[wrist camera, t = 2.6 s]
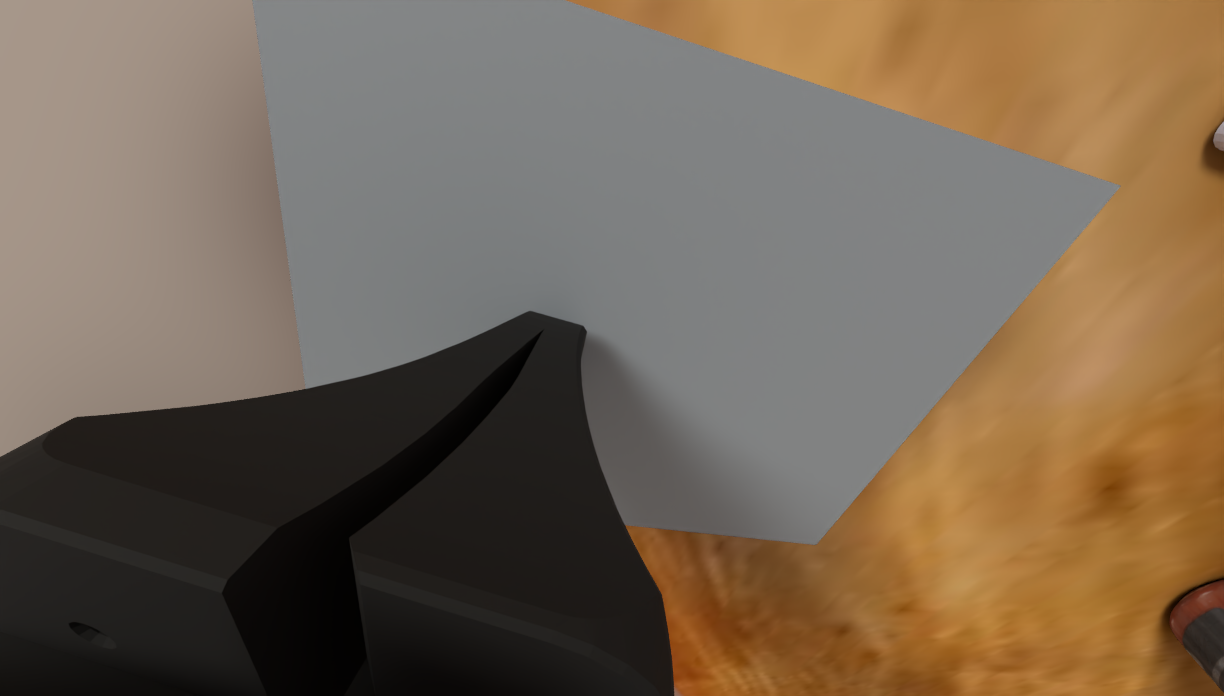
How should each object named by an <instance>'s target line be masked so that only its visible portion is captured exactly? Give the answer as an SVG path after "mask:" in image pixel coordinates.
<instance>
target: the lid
mask: <svg viewBox="0 0 1224 696" xmlns="http://www.w3.org/2000/svg"><path fill="white" fill-rule="evenodd" d="M252 1H253V8H254V15H255V23H256V29H257V37H258V44H259V51H260V59H261V66H262V74H263V81H264V88H265V95H266V103H267V110H268V117H269V124H270V132H271V138H272V146H273V153H274V161H275V168H276V176H277V183H278V190H279V197H280V205H281V212H282V219H283V227H284V234H285V241H286V248H287V256H288V263H289V270H290V278H291V285H292V292H293V299H294V306H295V314H296V321H297V328H298V336H299V343H300V350H301V358H302V364H303V372H304V380H305V386H306V389H307V388H312V387H316V386H321V385H325V384H330V383H334V382H339V381H343V380H348V379H352V378H357V377H361V376H365V375H368V374H372V373H375V372H379V371H382V370H386V369H389V368H392V367H396V366H399V365H402V364H405V363H408V362H411V361H414V360H417V359H420V358H423V357H426V356H428V355H431V354H433V353H436V352H438V351H441V350H443V349H446V348H448V347H451V346H453V345H456V344H458V343H461V342H463V341H466V340H468V339H470V338H472V337H475V336H477V335H479V334H481V333H483V332H485V331H488V330H490V329H492V328H494V327H496V326H498V325H500V324H502V323H505V322H507V321H509V320H511V319H513V318H515V317H517V316H519V315H521V314H523V313H525V312H528V311H533V312H537V313H540V314H544V315H547V316H551V317H555V318H558V319H562V320H565V321H569V322H572V323H576V324H579V325H583V326H584V327H585V329H586V331H587V335H586V339H585V344H584V348H583V353H582V357H581V374H582V388H583V396H584V403H585V409H586V414H587V419H588V424H589V428H590V432H591V436H592V440H593V444H594V447H595V450H596V454H597V457H598V460H599V463H600V466H601V469H602V472H603V474H604V477H605V479H606V482H607V484H608V487H609V489H610V492H611V494H612V497H613V499H614V502H615V505H616V507H617V509H618V512H619V514H620V516H621V518H622V520H623V522H624V524H625V525H629V526H639V527H649V528H658V529H668V530H677V531H687V532H697V533H706V534H716V535H725V536H735V537H744V538H754V539H764V540H773V541H783V542H792V543H802V544H811V545H817V543H818V542H819V541H820V540H821V539H822V537H823V536H824V535H825V534H826V533H827V532H828V530H829V529H830V528H831V527H832V526H833V525H834V523H835V522H836V521H837V520H838V519H839V517H840V516H841V515H842V514H843V513H844V512H845V510H846V509H847V508H848V507H849V506H850V504H851V503H852V502H853V501H854V500H855V499H856V497H857V496H858V495H859V494H860V493H861V492H862V490H863V489H864V488H865V487H866V486H867V484H868V483H869V482H870V481H871V480H872V479H873V477H874V476H875V475H876V474H877V473H878V472H879V470H880V469H881V468H882V467H883V466H884V464H885V463H886V462H887V461H888V460H889V459H890V457H891V456H892V455H893V454H894V453H895V451H896V450H897V449H898V448H899V447H900V446H901V444H902V443H903V442H904V441H905V440H906V439H907V437H908V436H909V435H910V434H911V433H912V431H913V430H914V429H915V428H916V427H917V426H918V424H919V423H920V422H921V421H922V420H923V419H924V417H925V416H926V415H927V414H928V413H929V411H930V410H931V409H932V408H933V407H934V406H935V404H936V403H937V402H938V401H939V400H940V398H941V397H942V396H943V395H944V394H945V393H946V391H947V390H948V389H949V388H950V387H951V386H952V384H953V383H954V382H955V381H956V380H957V378H958V377H959V376H960V375H961V374H962V373H963V371H964V370H965V369H966V368H967V367H968V366H969V364H970V363H971V362H972V361H973V360H974V358H975V357H976V356H977V355H978V354H979V353H980V351H981V350H982V349H983V348H984V347H985V345H986V344H987V343H988V342H989V341H990V340H991V338H992V337H993V336H994V335H995V334H996V333H997V331H998V330H999V329H1000V328H1001V327H1002V325H1003V324H1004V323H1005V322H1006V321H1007V320H1008V318H1009V317H1010V316H1011V315H1012V314H1013V313H1014V311H1015V310H1016V309H1017V308H1018V307H1019V305H1020V304H1021V303H1022V302H1023V301H1024V300H1025V298H1026V297H1027V296H1028V295H1029V294H1030V292H1031V291H1032V290H1033V289H1034V288H1035V287H1036V285H1037V284H1038V283H1039V282H1040V281H1041V280H1042V278H1043V277H1044V276H1045V275H1046V274H1047V272H1048V271H1049V270H1050V269H1051V268H1052V267H1053V265H1054V264H1055V263H1056V262H1057V261H1058V259H1059V258H1060V257H1061V256H1062V255H1063V254H1064V252H1065V251H1066V250H1067V249H1068V248H1069V247H1070V245H1071V244H1072V243H1073V242H1074V241H1075V239H1076V238H1077V237H1078V236H1079V235H1080V234H1081V232H1082V231H1083V230H1084V229H1085V228H1086V227H1087V225H1088V224H1089V223H1090V222H1091V221H1092V219H1093V218H1094V217H1095V216H1096V215H1097V214H1098V212H1099V211H1100V210H1101V209H1102V208H1103V206H1104V205H1105V204H1106V203H1107V202H1108V201H1109V199H1110V198H1111V197H1112V196H1113V195H1114V194H1115V192H1116V191H1117V190H1118V189H1119V188H1120V185H1117V184H1114V183H1111V182H1108V181H1105V180H1102V179H1099V178H1096V177H1093V176H1090V175H1087V174H1084V173H1081V172H1078V171H1075V170H1072V169H1069V168H1066V167H1063V166H1060V165H1057V164H1054V163H1051V162H1048V161H1045V160H1042V159H1039V158H1036V157H1033V156H1030V155H1027V154H1024V153H1021V152H1018V151H1015V150H1012V149H1009V148H1006V147H1003V146H1000V145H997V144H994V143H991V142H988V141H985V140H982V139H979V138H976V137H973V136H970V135H967V134H964V133H961V132H958V131H955V130H952V129H949V128H946V127H943V126H940V125H937V124H934V123H931V122H928V121H925V120H922V119H919V118H916V117H913V116H910V115H907V114H904V113H901V112H898V111H895V110H892V109H889V108H886V107H883V106H880V105H877V104H874V103H871V102H868V101H865V100H862V99H859V98H856V97H853V96H850V95H847V94H844V93H841V92H838V91H835V90H832V89H829V88H826V87H823V86H820V85H817V84H814V83H811V82H808V81H805V80H802V79H799V78H796V77H793V76H790V75H787V74H784V73H781V72H778V71H775V70H772V69H769V68H766V67H763V66H760V65H757V64H754V63H751V62H748V61H745V60H742V59H739V58H736V57H733V56H730V55H727V54H724V53H721V52H718V51H715V50H712V49H709V48H706V47H703V46H700V45H697V44H694V43H691V42H688V41H685V40H682V39H679V38H676V37H673V36H670V35H667V34H664V33H661V32H658V31H655V30H652V29H649V28H646V27H643V26H640V25H637V24H634V23H631V22H628V21H625V20H622V19H619V18H616V17H613V16H610V15H607V14H604V13H601V12H598V11H595V10H592V9H589V8H586V7H583V6H580V5H577V4H574V3H571V2H568V1H565V0H252Z"/></svg>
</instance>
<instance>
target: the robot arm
mask: <svg viewBox="0 0 1224 696" xmlns="http://www.w3.org/2000/svg"><path fill="white" fill-rule="evenodd" d="M1213 142H1214V145H1215V147H1216V148H1218V149H1219V150H1222V151H1224V122H1223V123H1222V124H1221V125H1220V127H1219V128H1218V130H1217V131H1216V132H1215V135H1214V139H1213ZM586 335H587V331H586V329H585V327H584V326H583V325H579V324H576V323H572V322H569V321H565V320H562V319H558V318H555V317H551V316H547V315H544V314H540V313H537V312H533V311H528V312H525V313H523V314H521V315H519V316H517V317H515V318H513V319H511V320H509V321H507V322H505V323H502V324H500V325H498V326H496V327H494V328H492V329H490V330H488V331H485V332H483V333H481V334H479V335H477V336H475V337H472V338H470V339H468V340H466V341H463V342H461V343H458V344H456V345H453V346H451V347H448V348H446V349H443V350H441V351H438V352H436V353H433V354H431V355H428V356H426V357H423V358H420V359H417V360H414V361H411V362H408V363H405V364H402V365H399V366H396V367H392V368H389V369H386V370H382V371H379V372H375V373H372V374H368V375H365V376H361V377H357V378H352V379H348V380H343V381H339V382H334V383H330V384H325V385H321V386H316V387H312V388H307V389H303V390H298V391H293V392H287V393H281V394H275V395H270V396H264V397H258V398H251V399H244V400H237V401H231V402H223V403H216V404H208V405H200V406H192V407H182V408H172V409H162V410H152V411H141V412H130V413H120V414H110V415H98V416H85V417H76V418H73V419H71V420H69V421H67V422H65V423H63V424H61V425H60V426H58V427H56V428H54V429H52V430H50V431H48V432H46V433H44V434H43V435H41V436H39V437H37V438H35V439H33V440H31V441H30V442H28V443H26V444H24V445H22V446H20V447H18V448H16V449H15V450H13V451H11V452H9V453H7V454H5V455H3V456H1V457H0V696H674V681H673V667H672V656H671V648H670V641H669V633H668V627H667V622H666V616H665V610H664V604H663V599H662V594H661V592H660V591H659V589H658V587H657V585H656V583H655V582H654V580H653V578H652V576H651V575H650V573H649V571H648V569H647V568H646V566H645V564H644V562H643V560H642V558H641V556H640V554H639V553H638V551H637V549H636V547H635V545H634V543H633V541H632V539H631V537H630V535H629V533H628V531H627V529H626V526H625V524H624V522H623V520H622V518H621V516H620V514H619V512H618V509H617V507H616V505H615V502H614V499H613V497H612V494H611V492H610V489H609V487H608V484H607V482H606V479H605V477H604V474H603V472H602V469H601V466H600V463H599V460H598V457H597V454H596V450H595V447H594V444H593V440H592V436H591V432H590V428H589V424H588V419H587V414H586V409H585V403H584V396H583V388H582V374H581V357H582V353H583V348H584V344H585V339H586Z"/></svg>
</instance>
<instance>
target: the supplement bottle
mask: <svg viewBox="0 0 1224 696" xmlns="http://www.w3.org/2000/svg"><path fill="white" fill-rule="evenodd" d="M1169 624H1170V627H1171V630H1172V632H1173V633H1174V635H1175V636H1176V638H1177V639H1178V640H1179V641H1180V643H1181V644H1182V645H1183V646H1184V647H1185V649H1186V650H1187V652H1188V653H1189V654H1190V655H1191V656H1192V657H1193V658H1194V659H1195V661H1196V662H1197V663H1198V664H1199V665H1200V666H1201V667H1202V668H1203V670H1204V671H1205V672H1206V673H1207V674H1208V675H1209V676H1210V677H1211V679H1212V680H1213V681H1214V682H1215V683H1216V684H1217V685H1218V687H1219V688H1220V689H1221V690H1222V691H1223V692H1224V580H1219V581H1216V582H1213V583H1210V584H1208V585H1205V586H1202V587H1200V588H1197V589H1195V590H1193V591H1191V592H1190V593H1188V594H1187V595H1186V596H1185V597H1184V598H1183V599H1182V600H1180V602H1179V603H1178V604H1177V605H1176V606H1175V607H1174V609H1173V610H1172V612H1171V614H1170V619H1169Z"/></svg>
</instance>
